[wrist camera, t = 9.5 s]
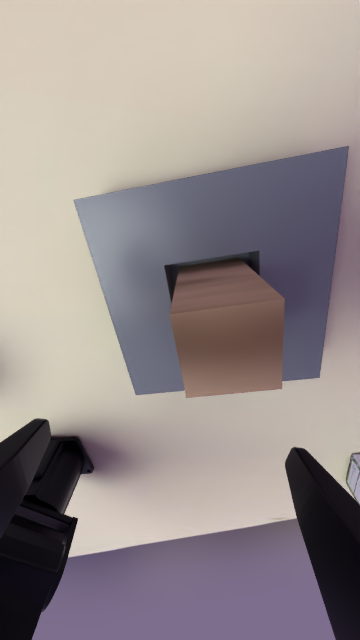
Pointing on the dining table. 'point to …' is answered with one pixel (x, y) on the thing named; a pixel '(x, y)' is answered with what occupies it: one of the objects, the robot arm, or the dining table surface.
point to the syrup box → (354, 476)
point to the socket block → (218, 253)
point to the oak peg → (227, 329)
